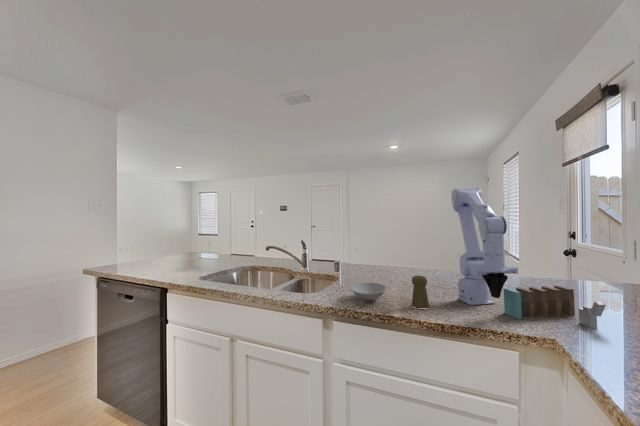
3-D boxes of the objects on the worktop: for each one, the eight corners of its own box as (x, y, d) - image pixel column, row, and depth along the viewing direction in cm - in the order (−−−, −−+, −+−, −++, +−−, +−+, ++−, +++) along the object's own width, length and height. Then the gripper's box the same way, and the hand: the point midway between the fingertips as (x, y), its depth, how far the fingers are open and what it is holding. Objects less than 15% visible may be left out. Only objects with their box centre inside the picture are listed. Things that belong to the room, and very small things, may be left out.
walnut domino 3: (556, 315, 85) (555, 290, 85) (542, 310, 90) (541, 286, 90) (561, 315, 85) (560, 289, 85) (547, 310, 90) (545, 285, 90)
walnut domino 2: (543, 316, 85) (542, 290, 85) (530, 311, 90) (528, 286, 90) (548, 316, 85) (547, 290, 85) (534, 310, 90) (533, 286, 90)
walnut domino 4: (570, 314, 85) (568, 289, 86) (555, 309, 90) (554, 285, 91) (574, 314, 86) (573, 289, 86) (559, 309, 91) (558, 285, 91)
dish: (385, 308, 97) (385, 294, 97) (346, 305, 101) (346, 292, 101) (389, 294, 114) (388, 282, 114) (355, 293, 118) (354, 281, 118)
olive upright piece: (429, 304, 99) (428, 274, 99) (428, 310, 94) (427, 278, 94) (412, 303, 102) (411, 273, 102) (410, 308, 96) (409, 277, 96)
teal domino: (516, 318, 84) (515, 292, 84) (504, 312, 89) (503, 288, 89) (521, 318, 84) (520, 292, 84) (509, 312, 89) (508, 288, 89)
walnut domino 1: (530, 317, 84) (528, 291, 85) (517, 311, 89) (516, 287, 90) (534, 317, 85) (533, 291, 85) (521, 311, 90) (520, 287, 90)
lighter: (578, 322, 79) (577, 295, 80) (585, 322, 79) (583, 295, 79) (600, 332, 72) (598, 302, 73) (607, 332, 72) (605, 302, 72)
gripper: (480, 256, 82) (482, 302, 82) (525, 254, 83) (527, 299, 83) (465, 254, 89) (467, 295, 89) (507, 252, 90) (509, 293, 90)
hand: (495, 297), depth 86 cm, fingers closed
